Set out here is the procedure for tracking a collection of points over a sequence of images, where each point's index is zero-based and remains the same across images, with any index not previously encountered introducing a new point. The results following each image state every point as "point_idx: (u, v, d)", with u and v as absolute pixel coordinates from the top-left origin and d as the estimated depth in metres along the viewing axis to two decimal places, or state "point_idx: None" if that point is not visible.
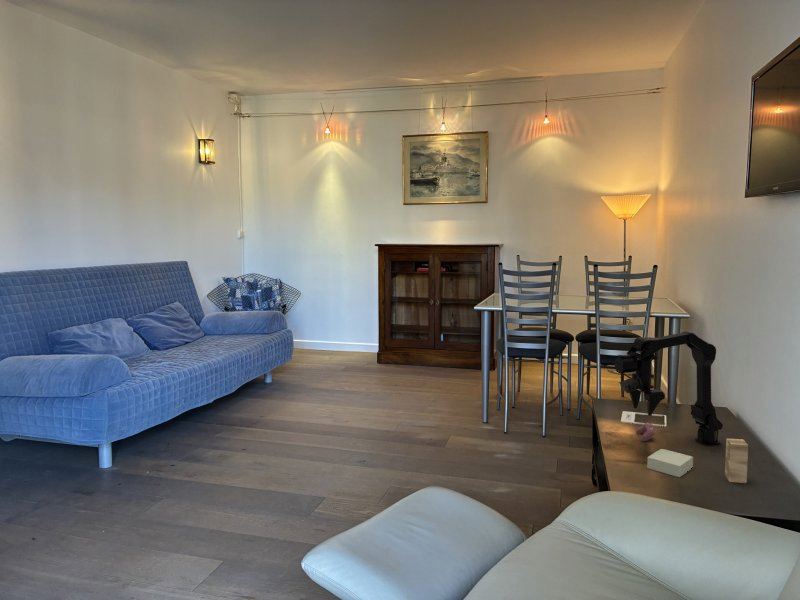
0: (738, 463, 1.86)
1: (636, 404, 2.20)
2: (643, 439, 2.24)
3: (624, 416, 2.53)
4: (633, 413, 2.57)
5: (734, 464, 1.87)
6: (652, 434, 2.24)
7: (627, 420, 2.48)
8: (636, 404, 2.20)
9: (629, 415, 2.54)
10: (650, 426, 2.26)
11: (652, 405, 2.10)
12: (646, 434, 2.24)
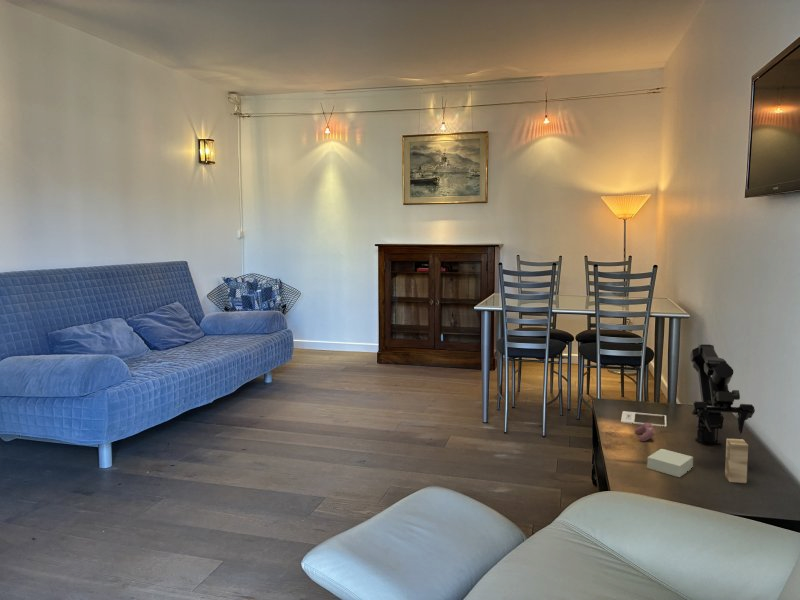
0: (738, 463, 1.86)
1: None
2: (642, 439, 2.24)
3: (624, 416, 2.53)
4: (633, 413, 2.57)
5: (734, 464, 1.87)
6: (651, 434, 2.24)
7: (627, 420, 2.48)
8: None
9: (629, 415, 2.54)
10: (649, 426, 2.26)
11: None
12: (645, 434, 2.24)
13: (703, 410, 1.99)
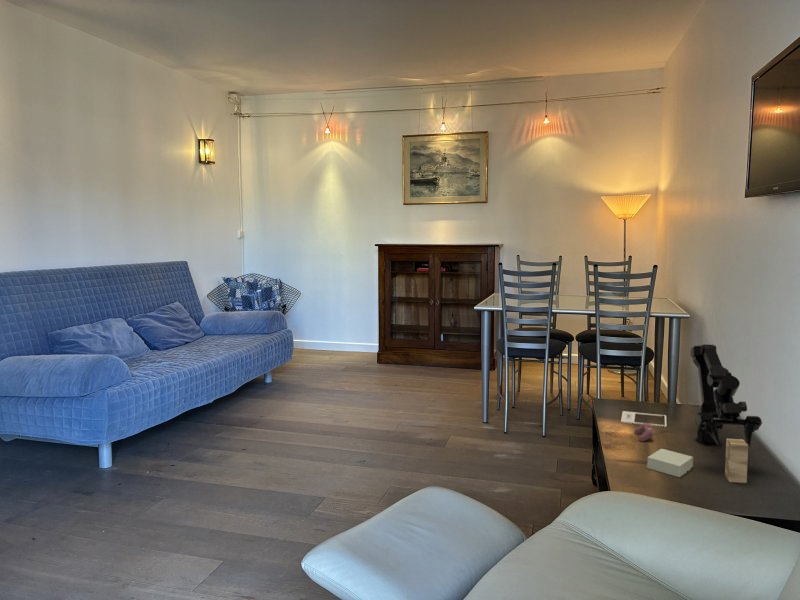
0: (738, 463, 1.86)
1: None
2: (642, 439, 2.24)
3: (624, 416, 2.53)
4: (633, 413, 2.57)
5: (734, 464, 1.87)
6: (650, 434, 2.24)
7: (627, 420, 2.48)
8: None
9: (629, 415, 2.54)
10: (648, 426, 2.26)
11: None
12: (644, 434, 2.24)
13: (710, 422, 1.95)
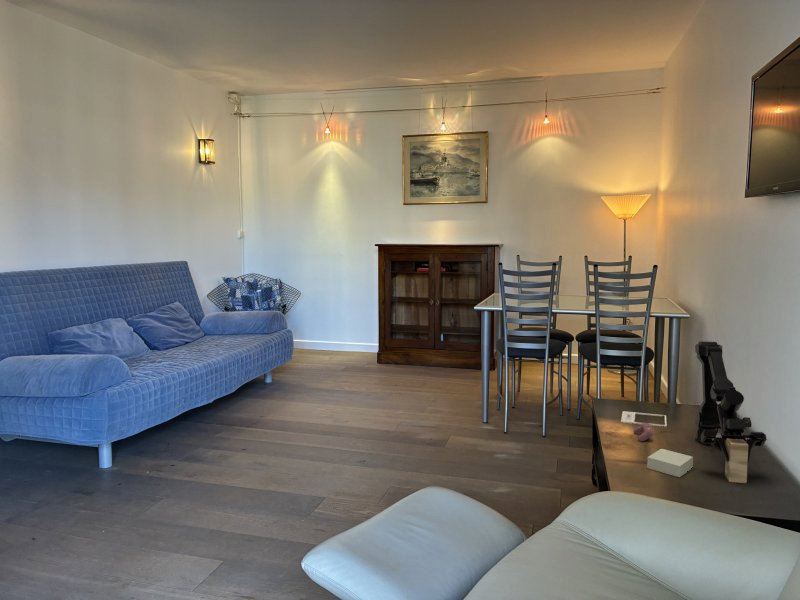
0: (738, 463, 1.86)
1: None
2: (641, 439, 2.24)
3: (624, 416, 2.53)
4: (633, 413, 2.57)
5: (734, 464, 1.87)
6: (649, 434, 2.24)
7: (627, 420, 2.48)
8: None
9: (629, 415, 2.54)
10: (647, 426, 2.26)
11: None
12: (643, 434, 2.24)
13: (719, 439, 1.91)
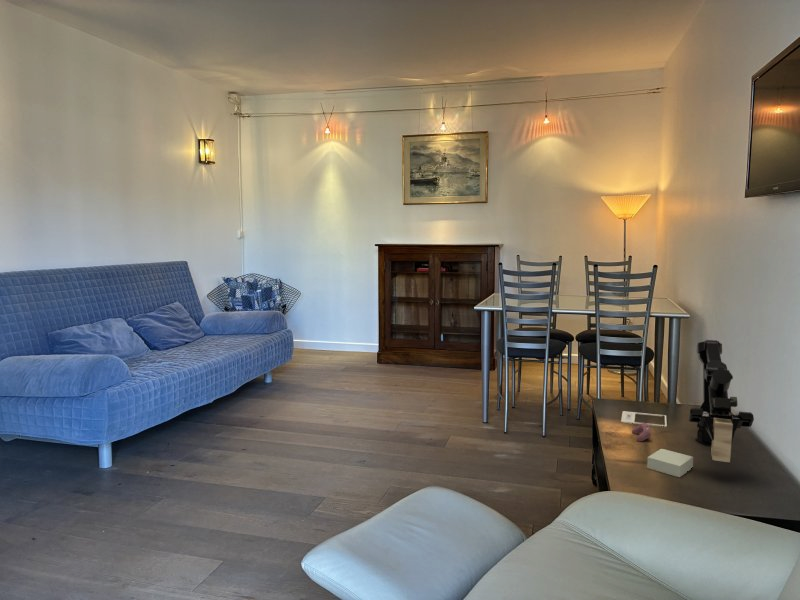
0: (722, 442, 1.87)
1: None
2: (640, 439, 2.25)
3: (624, 416, 2.53)
4: (633, 413, 2.57)
5: (718, 443, 1.88)
6: (648, 434, 2.24)
7: (627, 420, 2.48)
8: None
9: (629, 415, 2.54)
10: (646, 426, 2.27)
11: None
12: (642, 434, 2.24)
13: (705, 417, 1.92)
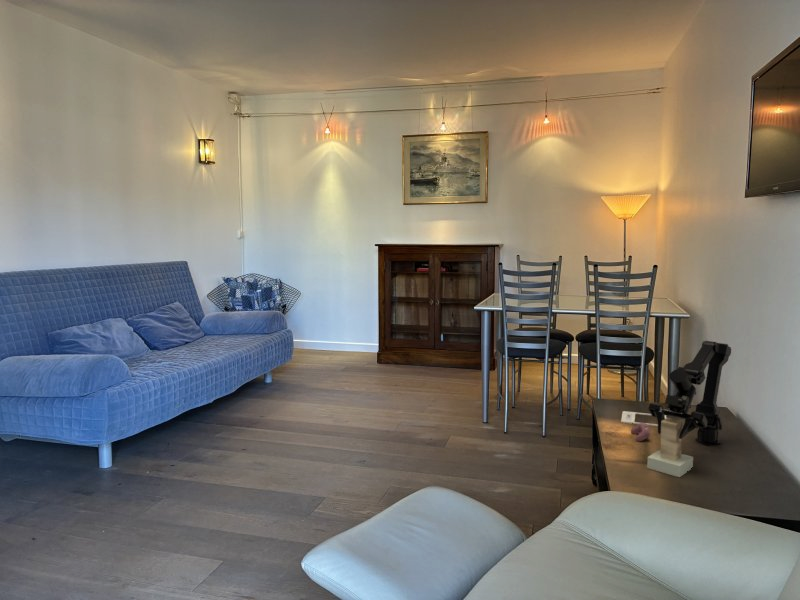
0: (667, 440, 1.97)
1: (660, 430, 2.01)
2: (639, 439, 2.25)
3: (624, 416, 2.53)
4: (633, 413, 2.57)
5: (664, 441, 1.98)
6: (647, 434, 2.24)
7: (627, 420, 2.48)
8: None
9: (629, 415, 2.54)
10: (645, 426, 2.27)
11: (687, 429, 1.96)
12: (641, 434, 2.24)
13: (656, 412, 2.03)
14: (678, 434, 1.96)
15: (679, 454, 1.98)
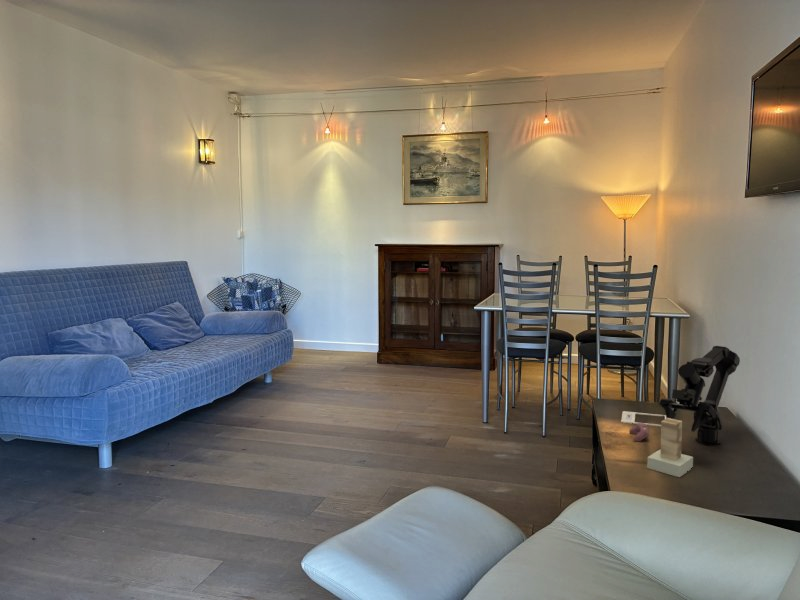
0: (667, 440, 1.97)
1: None
2: (637, 439, 2.25)
3: (624, 416, 2.53)
4: (633, 413, 2.57)
5: (664, 441, 1.98)
6: (645, 434, 2.24)
7: (627, 420, 2.48)
8: None
9: (629, 415, 2.54)
10: (643, 426, 2.27)
11: (699, 421, 2.01)
12: (639, 434, 2.24)
13: (664, 406, 2.11)
14: (678, 434, 1.96)
15: (679, 454, 1.98)
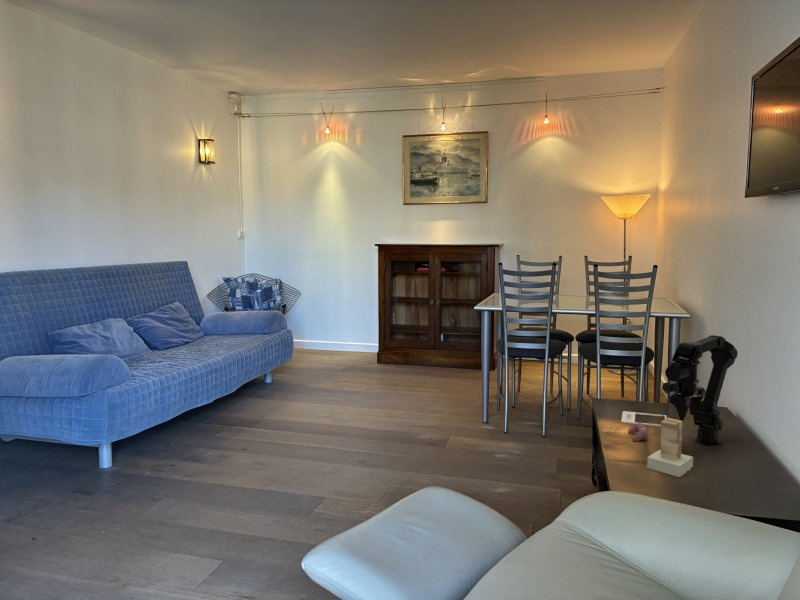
0: (667, 440, 1.97)
1: (692, 411, 2.15)
2: (636, 439, 2.25)
3: (624, 416, 2.53)
4: (633, 413, 2.57)
5: (664, 441, 1.98)
6: (644, 434, 2.24)
7: (627, 420, 2.48)
8: (693, 411, 2.15)
9: (629, 415, 2.54)
10: (642, 426, 2.27)
11: (681, 410, 2.08)
12: (638, 434, 2.24)
13: None
14: (678, 434, 1.96)
15: (679, 454, 1.98)
